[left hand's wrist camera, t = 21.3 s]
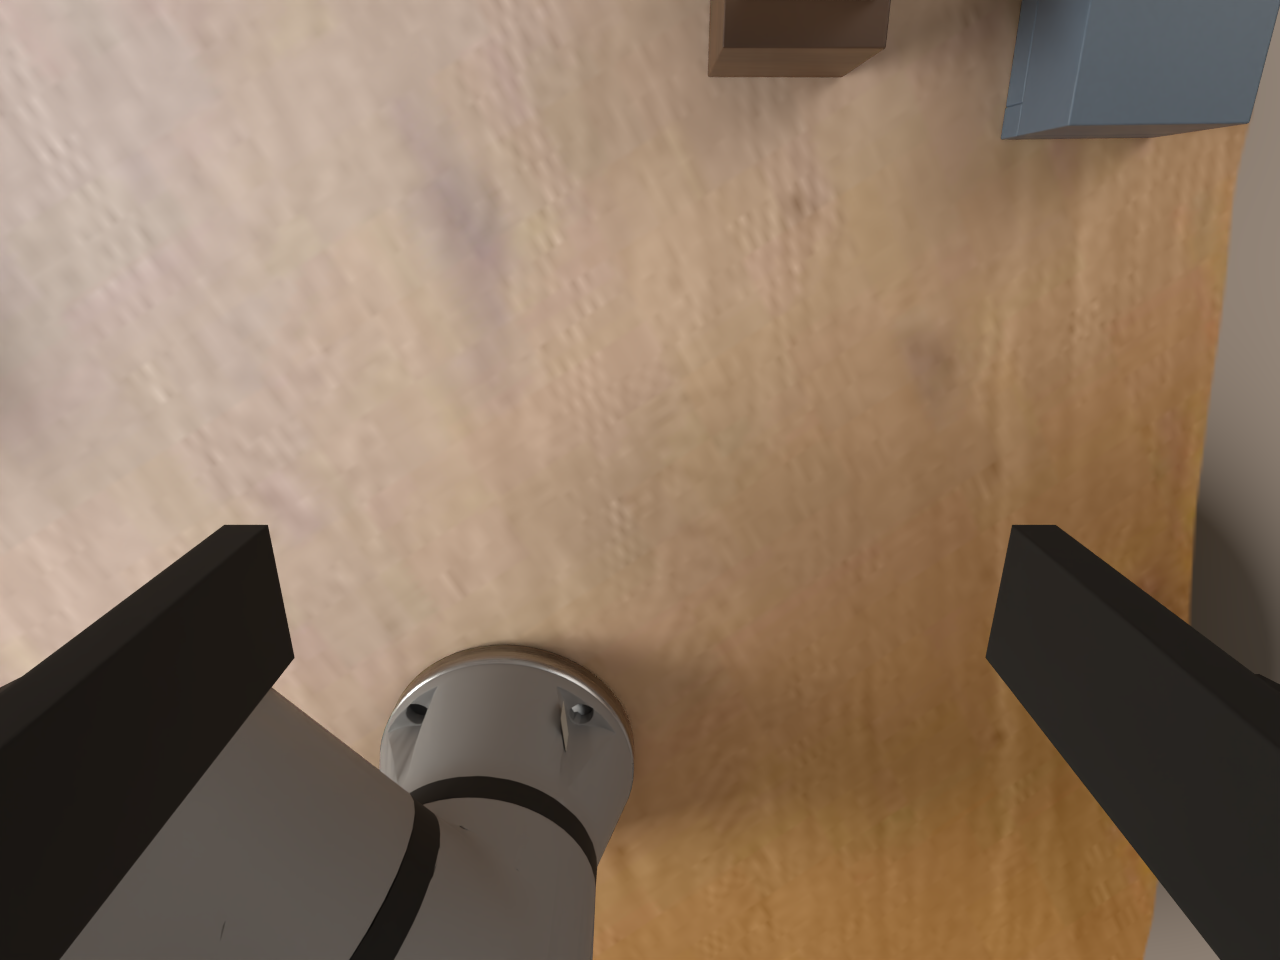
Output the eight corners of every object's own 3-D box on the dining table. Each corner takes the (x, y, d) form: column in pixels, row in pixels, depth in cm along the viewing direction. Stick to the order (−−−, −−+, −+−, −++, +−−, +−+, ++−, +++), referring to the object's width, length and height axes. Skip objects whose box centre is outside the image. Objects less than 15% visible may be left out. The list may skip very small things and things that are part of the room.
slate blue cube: (1153, 137, 33) (1250, 123, 27) (1000, 139, 33) (1068, 125, 27) (1193, -46, 30) (1308, -99, 25) (1027, -44, 30) (1107, -96, 25)
